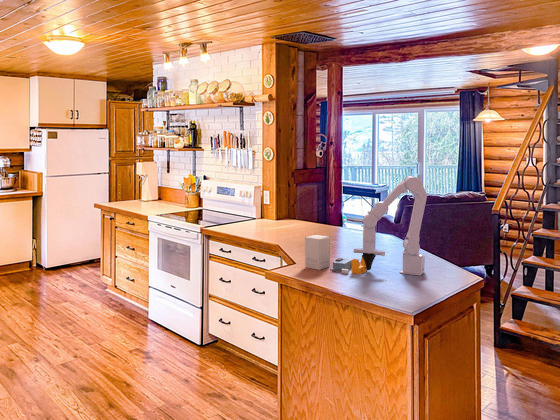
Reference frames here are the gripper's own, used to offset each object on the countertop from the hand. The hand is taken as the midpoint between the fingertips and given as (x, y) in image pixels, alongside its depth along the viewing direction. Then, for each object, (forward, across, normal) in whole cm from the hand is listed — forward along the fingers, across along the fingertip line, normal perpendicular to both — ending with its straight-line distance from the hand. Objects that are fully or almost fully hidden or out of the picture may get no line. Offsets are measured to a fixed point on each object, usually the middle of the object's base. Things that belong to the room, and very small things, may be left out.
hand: (368, 269), depth 225 cm
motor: (+1, +12, 0) cm, 12 cm away
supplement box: (+1, +25, +3) cm, 25 cm away
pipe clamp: (+2, +4, 0) cm, 4 cm away
